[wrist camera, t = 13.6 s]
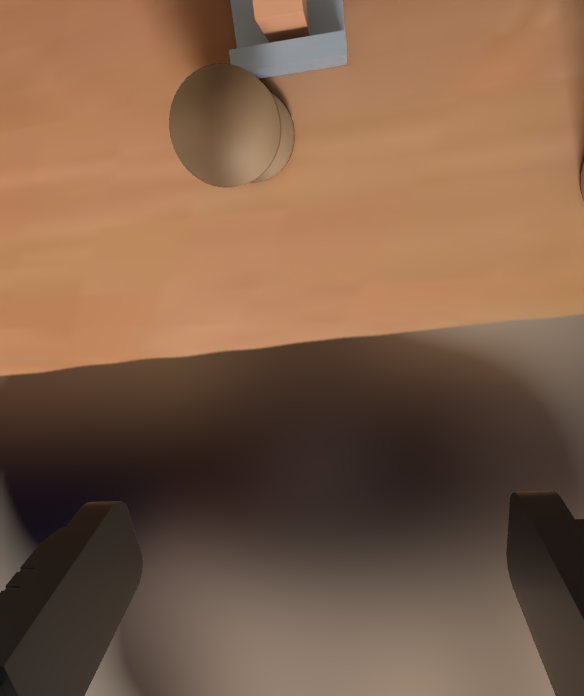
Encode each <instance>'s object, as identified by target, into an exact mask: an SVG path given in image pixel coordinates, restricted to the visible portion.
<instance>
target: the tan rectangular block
mask: <svg viewBox="0 0 584 696" xmlns="http://www.w3.org/2000/svg"><path fill="white" fill-rule="evenodd" d="M253 8H254V16H255V20H256V22H257V24H258V25H259V27H260V28H261V30H262V32H263V33H264V35H265V37H266V38H267V40H268V41H269V43H271V42H277V41H283V40H289V39H295V38H301V37H307V36H310V31H309V20H308V9H307V0H253Z"/></svg>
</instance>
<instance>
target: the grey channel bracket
mask: <svg viewBox="0 0 584 696" xmlns="http://www.w3.org/2000/svg"><path fill="white" fill-rule="evenodd" d="M230 3H231V10H232V17H233V24H234V31H235V38H236V46H237V48H236V49H230V50H229V56H230V63H231V65H236V66H238V67H241V68H244V69H245V70H247V71H249V72H251V73H252V74H253V75H254V76H256V77H257V78H258V79H261V78H267V77H274V76H280V75H286V74H292V73H299V72H305V71H311V70H317V69H324V68H330V67H336V66H342V65H347V45H346V30H345V28H344V13H343V0H307V9H308V20H309V31H310V36H307V37H301V38H295V39H289V40H283V41H277V42H271V43H269V41H268V40H267V38H266V37H265V35H264V33H263V32H262V30H261V28H260V27H259V25H258V24H257V22H256V20H255V16H254V8H253V0H230Z"/></svg>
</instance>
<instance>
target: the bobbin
mask: <svg viewBox="0 0 584 696" xmlns="http://www.w3.org/2000/svg"><path fill="white" fill-rule="evenodd" d="M169 129H170V136H171V140H172V144H173V146H174V149H175V152H176V154H177V155H178V157H179V159H180V161H181V162H182V164H183V165H184V166H185V167H186V168H187V170H188V171H189V172H190V173H192V174H193V175H194V176H195V177H197V178H198V179H199V180H201V181H203V182H205V183H207V184H210V185H213V186H217V187H225V188H228V187H237V186H241V185H245V184H248V183H256V182H261V181H265V180H268V179H270V178H272V177H274V176H275V175H277V174H278V173H279V172H280V171H281V170H282V169H283V168H284V167H285V165H286V164H287V162H288V161H289V159H290V157H291V154H292V151H293V147H294V140H295V133H294V126H293V122H292V118H291V116H290V114H289V112H288V110H287V108H286V107H285V106H284V104H283V103H282V102H281V101H280V100H279V99H278V98H277V97H276V96H275V95H273V94H272V93H271V92H270V91H269V90H268V89H267V87H266V86H265V85H264V84H263V83H262V82H261V81H260V80H259V79H258V78H257V77H256V76H254V75H253V74H252V73H251V72H249V71H247V70H245V69H244V68H241V67H238V66H236V65H231V64H222V63H220V64H212V65H208V66H205V67H202V68H200V69H198V70H197V71H195V72H193V73H192V74H191V75H190V76H188V77H187V78H186V79H185V81H184V82H183V83H182V84H181V86H180V87H179V89H178V90H177V92H176V94H175V96H174V99H173V102H172V105H171V110H170V117H169Z"/></svg>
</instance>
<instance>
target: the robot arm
mask: <svg viewBox="0 0 584 696" xmlns="http://www.w3.org/2000/svg"><path fill="white" fill-rule="evenodd" d="M581 191H582V195H583V199H584V162H583V166H582V171H581ZM507 536H508V537H507V552H506V555H507V565H508V571H509V576H510V580H511V583H512V586H513V589H514V592H515V594H516V597H517V599H518V602H519V604H520V607H521V609H522V612H523V614H524V617H525V619H526V622H527V624H528V627H529V629H530V632H531V634H532V637H533V640H534V642H535V645H536V647H537V650H538V652H539V655H540V657H541V659H542V662H543V664H544V667H545V670H546V672H547V675H548V677H549V680H550V682H551V685H552V687H553V690H554V692H555V695H556V696H584V519H576V520H575V519H574V517H573V515H572V514H571V512H570V511H569V509H568V508H567V507H566V505H565V503H564V502H563V500H562V499H561V497H560V496H559V495H558V494H557V493H556V492H555V491H536V492H513V493H512V494H511V496H510V502H509V518H508V535H507ZM142 565H143V560H142V554H141V550H140V547H139V544H138V540H137V537H136V534H135V531H134V527H133V524H132V521H131V518H130V514H129V511H128V508H127V506H126V505H125V504H124V503H123V502H120V501H118V502H89V503H86V504H85V505H83V506H82V507H81V508H80V510H79V511H78V513H77V514H76V515H75V516H74V518H73V519H72V520H71V521H70V523H69V524H68V525H67V527H65V528H64V527H63V528H60V529H59V530H58V531H56V532H55V533H54V534H53V535H51V536H50V537H49V538H48V539H47V540H45V541H44V542H42V543H41V544H40V545H39V546H38V547H37V548H36V549H35V550H34V551H33V553H32V554H31V555H30V557H29V558H28V559H27V560H26V561H25V563H24V564H23V565H22V566H21V570H20V572H17V573H16V574H15V575H14V576H13V578H12V579H11V580H10V581H9V583H8V584H7V585H6V589H5V591H1V593H0V696H84V695H85V693H86V691H87V689H88V687H89V685H90V683H91V681H92V679H93V677H94V675H95V673H96V671H97V669H98V667H99V665H100V663H101V661H102V658H103V657H104V654H105V653H106V651H107V648H108V646H109V644H110V642H111V640H112V638H113V636H114V634H115V632H116V630H117V628H118V626H119V624H120V622H121V620H122V618H123V616H124V614H125V612H126V610H127V608H128V606H129V604H130V602H131V599H132V597H133V595H134V593H135V591H136V589H137V587H138V585H139V582H140V579H141V574H142V567H143V566H142Z"/></svg>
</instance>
